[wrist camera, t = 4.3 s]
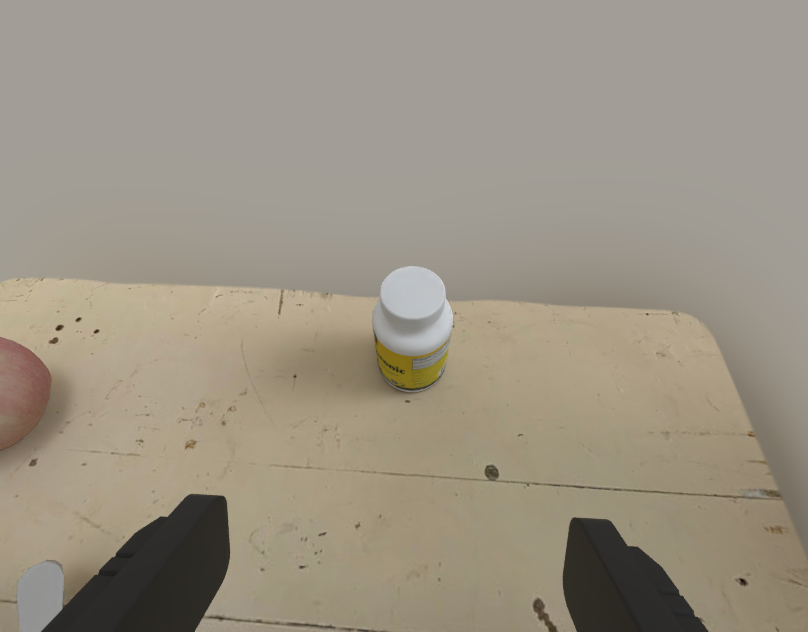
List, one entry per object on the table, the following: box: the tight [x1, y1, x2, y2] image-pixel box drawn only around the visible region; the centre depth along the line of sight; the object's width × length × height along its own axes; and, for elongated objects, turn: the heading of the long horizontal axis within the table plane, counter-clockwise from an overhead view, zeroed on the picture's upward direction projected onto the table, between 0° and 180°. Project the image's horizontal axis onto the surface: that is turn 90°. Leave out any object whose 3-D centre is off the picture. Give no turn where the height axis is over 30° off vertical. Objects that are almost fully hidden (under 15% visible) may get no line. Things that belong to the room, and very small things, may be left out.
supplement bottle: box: [372, 266, 453, 392], centre depth 28 cm, size 5×5×10 cm
